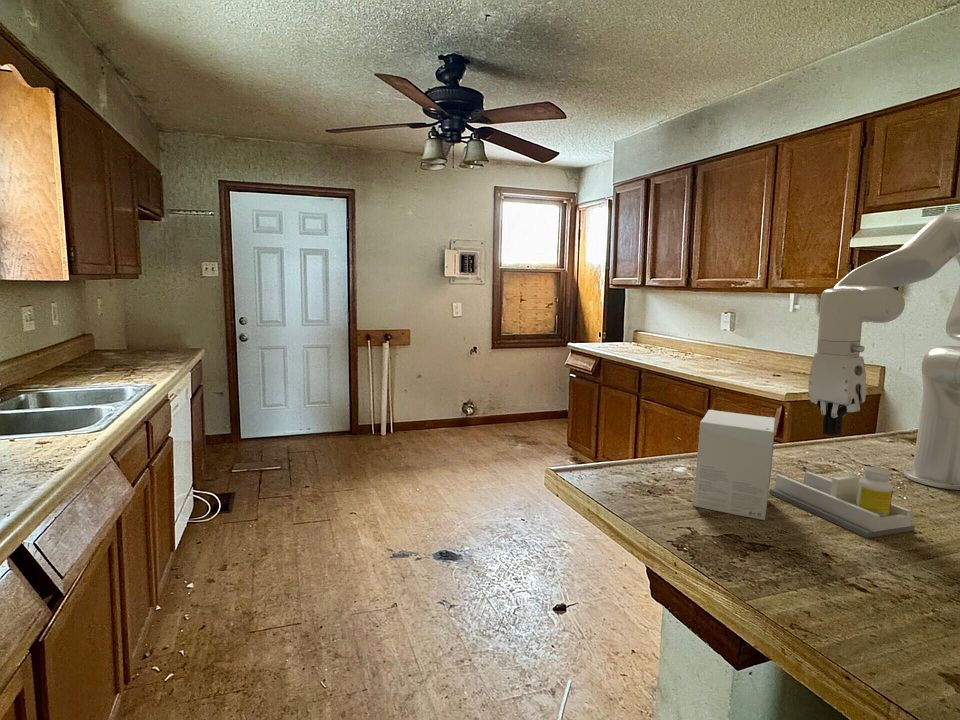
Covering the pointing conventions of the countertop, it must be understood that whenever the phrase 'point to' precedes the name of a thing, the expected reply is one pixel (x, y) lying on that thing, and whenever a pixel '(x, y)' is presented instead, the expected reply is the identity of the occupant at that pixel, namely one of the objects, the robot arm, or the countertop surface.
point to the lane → (840, 507)
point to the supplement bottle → (875, 491)
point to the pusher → (845, 488)
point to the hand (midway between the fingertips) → (831, 433)
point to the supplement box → (734, 463)
